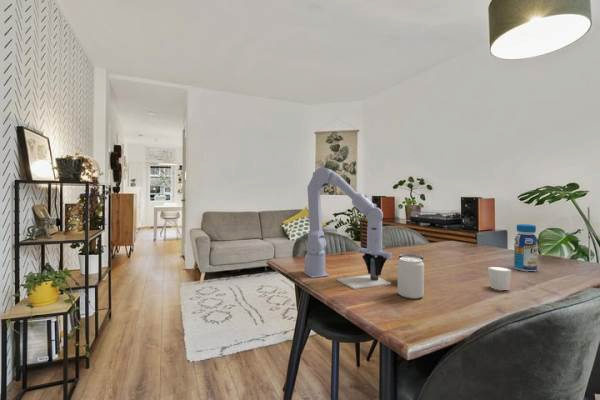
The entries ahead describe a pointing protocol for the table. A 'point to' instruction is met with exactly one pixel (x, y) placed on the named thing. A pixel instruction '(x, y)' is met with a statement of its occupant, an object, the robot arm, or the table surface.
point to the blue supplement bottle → (525, 248)
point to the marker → (373, 270)
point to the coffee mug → (411, 256)
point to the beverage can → (411, 277)
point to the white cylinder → (499, 278)
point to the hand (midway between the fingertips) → (374, 274)
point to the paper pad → (362, 282)
